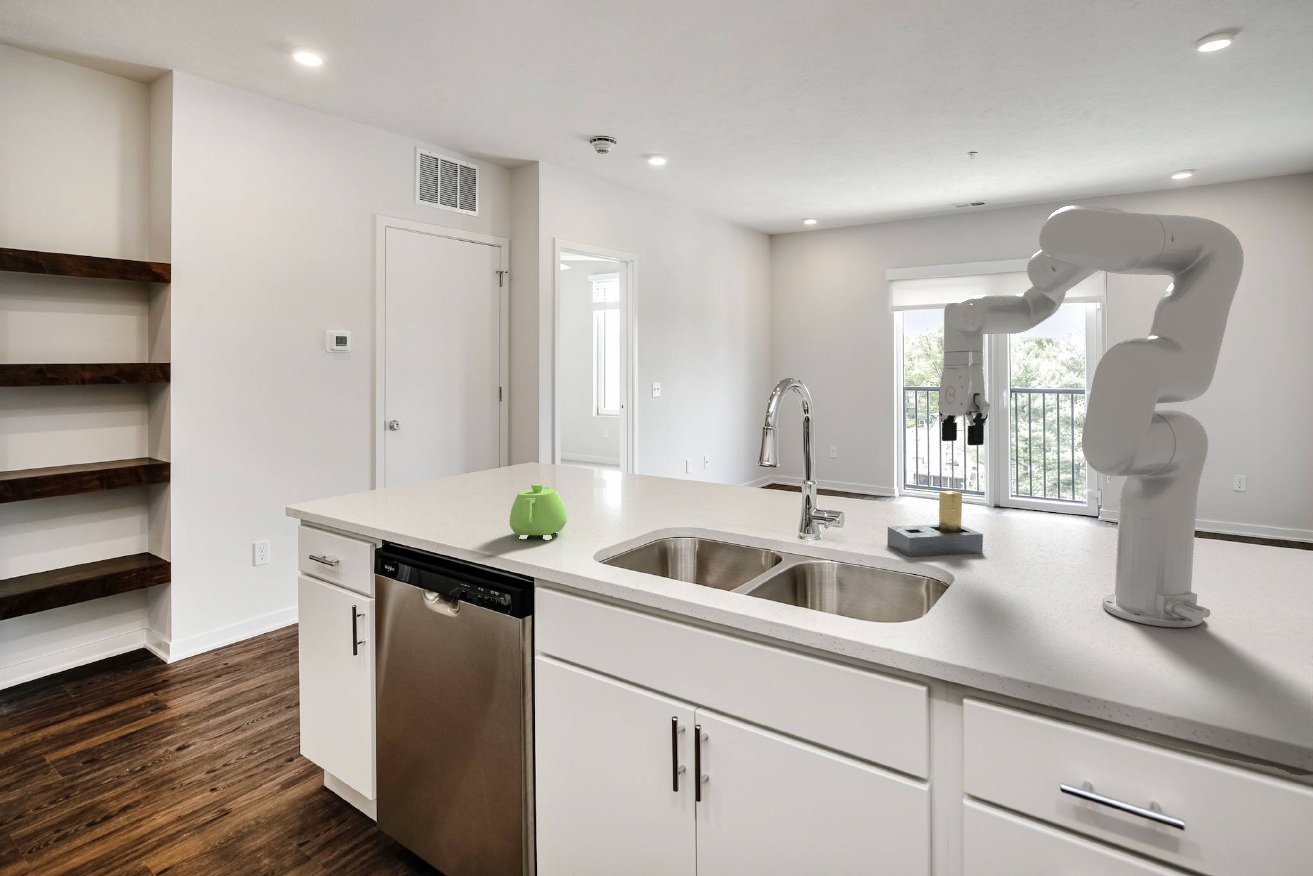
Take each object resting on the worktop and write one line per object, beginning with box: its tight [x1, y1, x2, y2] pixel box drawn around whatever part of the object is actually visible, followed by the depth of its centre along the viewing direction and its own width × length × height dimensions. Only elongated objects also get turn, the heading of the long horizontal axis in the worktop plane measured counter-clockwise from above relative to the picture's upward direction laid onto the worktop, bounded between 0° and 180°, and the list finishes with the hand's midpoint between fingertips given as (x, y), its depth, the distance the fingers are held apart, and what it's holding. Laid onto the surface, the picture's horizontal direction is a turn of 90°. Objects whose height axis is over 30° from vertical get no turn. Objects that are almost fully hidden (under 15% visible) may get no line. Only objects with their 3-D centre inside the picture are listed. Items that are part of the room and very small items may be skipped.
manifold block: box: [887, 523, 984, 558], centre depth 146 cm, size 10×16×4 cm, turn 96°
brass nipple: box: [938, 490, 963, 533], centre depth 146 cm, size 4×4×12 cm
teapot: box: [509, 483, 568, 536], centre depth 165 cm, size 20×13×13 cm
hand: (961, 442), depth 144 cm, fingers open, 9 cm apart
